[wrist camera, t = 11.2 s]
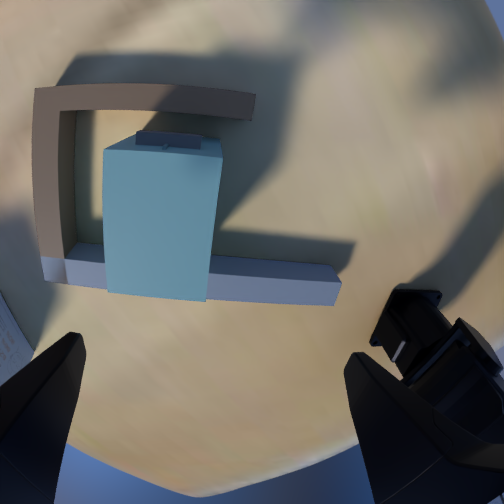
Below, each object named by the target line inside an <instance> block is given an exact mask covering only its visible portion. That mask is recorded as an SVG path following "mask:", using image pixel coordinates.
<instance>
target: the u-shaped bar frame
mask: <svg viewBox="0 0 504 504" xmlns="http://www.w3.org/2000/svg"><path fill="white" fill-rule="evenodd" d="M255 97H256V94H251V93H245V92H238V91H231V90H223V89H214V88H205V87H195V86H182V85H167V84H143V83H102V84H79V85H64V86H53V87H43V88H35V93H34V105H33V121H32V181H33V198H34V210H35V220H36V229H37V237H38V244H39V250H40V257H41V263H42V268H43V274H44V279H45V281H48V282H55V283H62V284H69V285H77V286H84V287H92V288H100V289H107V280H106V269H105V255H104V245H98V244H88V243H78V242H77V233H76V218H75V197H74V148H75V126H76V112H77V110H145V111H164V112H179V113H191V114H201V115H211V116H219V117H228V118H235V119H243V120H249V121H251V120H252V114H253V109H254V103H255ZM341 284H342V282H341V281H340V279H339V277H338V276H337V274H336V273H335V271H334V270H333V268H332V267H331V265H322V264H310V263H299V262H287V261H275V260H264V259H252V258H241V257H229V256H218V255H211V256H210V265H209V274H208V284H207V293H206V299H213V300H226V301H241V302H258V303H276V304H297V305H324V306H334V304H335V301H336V298H337V296H338V293H339V290H340V287H341Z"/></svg>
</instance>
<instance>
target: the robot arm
mask: <svg viewBox="0 0 504 504" xmlns="http://www.w3.org/2000/svg"><path fill="white" fill-rule="evenodd" d="M441 298H442V293H441V292H440V291H432V290H403V289H396V290H394V291H393V292H392V293H391V295H390V298H389V300H388V302H387V304H386V307H385V309H384V311H383V313H382V316H381V318H380V320H379V322H378V324H377V326H376V328H375V330H374V332H373V334H372V337H371V339H370V341H369V343H370V345H371V346H373V347H374V346H382V347H383V348H384V350H385V352H386V353H387V355H388V357H389V358H390V360H391V362H395V364H396V366H397V367H398V369H399V371H400V373H401V374H402V376H403V377H404V378H403V379H402V380H398V379H397V378H396V377H395V376H393V375H392V374H391V373H390V372H388V371H387V370H386V369H384V368H383V367H382V366H381V365H379V364H378V363H377V362H376V361H374V360H373V359H372V358H371V357H369V356H368V355H367V354H366V353H364V352H354V353H352V354H351V356H350V358H349V360H348V362H347V364H346V366H345V368H344V378H345V384H346V390H347V395H348V401H349V407H350V411H351V415H352V419H353V422H354V426H355V429H356V433H357V437H358V440H359V444H360V447H361V451H362V455H363V458H364V463H365V466H366V470H367V474H368V478H369V482H370V486H371V489H372V494H373V498H374V502H375V504H504V380H503V378H502V377H501V375H500V374H499V373H500V372H501V371H502V370H503V366H502V364H501V363H500V361H499V359H498V357H497V355H496V354H495V352H494V350H493V349H492V347H491V345H490V344H489V343H488V342H487V341H486V340H485V339H484V338H483V336H482V335H481V334H480V333H479V332H478V331H477V330H476V329H475V328H473V327H472V326H471V325H469V324H468V323H467V322H465V321H464V320H463V319H461V318H460V317H459V318H458V319H457V320H456V321H455V324H454V325H453V326H452V325H451V324H450V322H449V321H448V320H447V319H446V318H445V317H444V315H443V314H442V313H441V312H440V311H439V310H438V308H437V306H438V304H439V302H440V300H441ZM85 361H86V349H85V345H84V341H83V337H82V335H81V334H80V333H75V332H69V333H67V334H66V335H65V336H63V337H62V338H61V339H59V340H58V341H57V342H55V343H54V344H53V345H51V346H50V347H49V348H48V349H46V350H45V351H44V352H42V353H41V354H40V355H38V356H37V357H36V358H35V359H33V360H32V361H31V362H30V363H28V364H27V365H26V366H24V367H23V368H22V369H21V370H19V371H18V372H17V373H16V374H14V375H13V376H12V377H11V378H9V379H8V380H7V381H6V382H5V383H3V384H2V385H1V386H0V504H54V503H53V502H54V499H55V493H56V488H57V482H58V477H59V472H60V467H61V463H62V458H63V454H64V449H65V445H66V441H67V437H68V433H69V429H70V426H71V422H72V418H73V415H74V411H75V408H76V404H77V401H78V397H79V392H80V386H81V381H82V375H83V370H84V365H85Z"/></svg>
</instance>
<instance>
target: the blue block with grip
mask: <svg viewBox="0 0 504 504" xmlns="http://www.w3.org/2000/svg"><path fill="white" fill-rule="evenodd" d="M222 163H223V154H222V148H221V143H220V139H219V138H210V137H202V135H199V134H188V133H176V132H163V131H146V130H140V131H137V132H136V134H135V135H133V136H130V137H128V138H126V139H124V140H122V141H120V142H118V143H116V144H114V145H111V146H109V147H107V148H105V149H104V152H103V191H102V198H103V237H104V255H105V269H106V280H107V290H108V292H110V293H119V294H128V295H137V296H146V297H156V298H167V299H178V300H189V301H201V302H206V293H207V284H208V274H209V265H210V256H211V247H212V239H213V231H214V223H215V215H216V207H217V199H218V192H219V184H220V177H221V170H222Z"/></svg>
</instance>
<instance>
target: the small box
mask: <svg viewBox="0 0 504 504" xmlns="http://www.w3.org/2000/svg"><path fill="white" fill-rule="evenodd" d="M33 355H34V351H33V349H32V348H31V346H30V345H29V343H28V341H27V340H26V338H25V336H24V335H23V333H22V331H21V330H20V328H19V326H18V325H17V323H16V321H15V319H14V317H13V316H12V314H11V312H10V310H9V308H8V307H7V305H6V303H5V301H4V299H3V297H2V295H1V293H0V386H1V385H2V384H3V383H5V382H6V381H7V380H8V379H9V378H11V377H12V376H13V375H14V374H16V373H17V372H18V371H19V370H21V369H22V368H23V367H24V366H26V365H27V364H28V363H30V361H31V359H32V357H33Z"/></svg>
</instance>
